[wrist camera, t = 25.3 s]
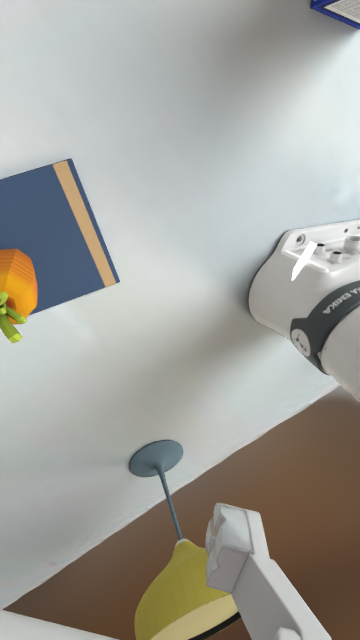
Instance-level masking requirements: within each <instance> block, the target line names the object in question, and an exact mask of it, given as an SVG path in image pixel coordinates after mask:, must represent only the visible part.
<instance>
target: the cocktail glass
mask: <svg viewBox="0 0 360 640" xmlns="http://www.w3.org/2000/svg"><path fill="white" fill-rule="evenodd" d="M182 455H183V448H182V446H181V445H180V444H179V443H177V442H175V441H170V440H164V441H158V442H154V443H152V444H149V445H147V446H145V447H144V448H142V449H141V450H139V451H138V452H137V453H136V454H135V455H134V457H133V458H132V460H131V463H130V469H131V471H132V472H133V473H134V474H135V475H137V476H140V477H152V476H156V475H159V476H160V479H161V482H162V485H163V488H164V491H165V494H166V497H167V501H168V504H169V507H170V510H171V514H172V517H173V521H174V524H175V528H176V531H177V534H178V538H179V541H178V542H177V544H176V546H175V549H174V552H173V556H172V559H171V561H170V562H169V564H168V565H167V566H166V567H165V569H164V570H163V571H162V572H161V573H160V574H159V575H158V576H157V578H156V579H155V580H154V581H153V582H152V584H151V585H150V586H149V588H148V589H147V590H146V592H145V593H144V595H143V597H142V599H141V601H140V603H139V605H138V608H137V610H136V614H135V633H136V639H137V640H205V639H207V638H209V637H211V636H213V635H214V634H216V633H218V632H220V631H221V630H223V629H225V628H227V627H228V626H230V625H231V624H233V623H234V622H236V621H237V620H239V619H240V618H241V615H240V613H239V611H238V608H237V606H236V604H235V602H234V600H233V598H232V596H231V595H232V594H231V593H227V592H224V591H220V590H217V589H214V588H210V587H207V586H206V563H207V560H208V558H209V556H208V554H207V552H206V548H200V547H197V546H195V545H194V544H193V543H192V542H190V541H189V540H187V539H183V538H182V535H181V532H180V528H179V525H178V522H177V519H176V515H175V511H174V508H173V505H172V501H171V498H170V494H169V491H168V487H167V483H166V479H165V475H164V472H166V471H168V470H170V469H171V468H173V467H174V466H175V465H176V464H177V463H178V462H179V461H180V459H181V458H182Z"/></svg>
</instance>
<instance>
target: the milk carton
mask: <svg viewBox="0 0 360 640" xmlns="http://www.w3.org/2000/svg"><path fill="white" fill-rule="evenodd" d="M310 8H312V9H314V10H316V11H319V12H321V13H323V14H325V15H328V16H330V17H332V18H335V19H337V20H339V21H342V22H344V23H346V24H348V25H351V26H353V27H355V28H358V29H360V0H312V4H311V7H310Z"/></svg>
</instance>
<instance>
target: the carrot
mask: <svg viewBox="0 0 360 640" xmlns="http://www.w3.org/2000/svg"><path fill="white" fill-rule="evenodd" d="M36 306H37V281H36V276H35V272H34V267H33V264H32V261H31V259H30V257H28V256H27V255H26V254H24V253H23V252H21V251H20V250H18V249H1V250H0V328H1V330H2V331H3V333H4V334H5V336H6V337H7V338H8V339H9V340H10V341H11V342H12V343H15V342H18V341H19V340H20V339H21V338H22V336H21V335H20V334H19V332H18V331H17V329H16V328H15V327H14V326H13V325H12V324H23V323H25V322H26V321H27V320H26V317H27V316H28V315H29V314H30V313H31V312H32V311H33V310H34V309H35V307H36Z"/></svg>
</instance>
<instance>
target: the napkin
mask: <svg viewBox="0 0 360 640" xmlns="http://www.w3.org/2000/svg"><path fill="white" fill-rule="evenodd" d="M1 249H18V250H20V251H21V252H23V253H24V254H26V255H27V256H28V257H30V259H31V261H32V264H33V267H34V272H35V276H36V281H37V306H36V307H35V309H34V310H33V311H32V312H31V313H30V314H29V315H31V314H33V313H36V312H39V311H42V310H44V309H47V308H50V307H53V306H55V305H58V304H61V303H64V302H66V301H69V300H72V299H75V298H77V297H80V296H83V295H85V294H88V293H91V292H94V291H96V290H99V289H102V288H105V287H108V286H110V285H113V284H116V283H118V282H120V280H119V278H118V275H117V273H116V270H115V268H114V265H113V263H112V260H111V257H110V255H109V252H108V250H107V247H106V245H105V242H104V240H103V237H102V235H101V232H100V230H99V227H98V225H97V222H96V220H95V217H94V214H93V212H92V209H91V207H90V204H89V202H88V199H87V197H86V194H85V192H84V189H83V187H82V184H81V182H80V179H79V177H78V174H77V171H76V169H75V166H74V164H73V161H72V159H67V160H64V161H61V162H57V163H54V164H51V165H47V166H44V167H41V168H37V169H34V170H31V171H27V172H24V173H21V174H18V175H14V176H11V177H8V178H4V179H1V180H0V250H1Z"/></svg>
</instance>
